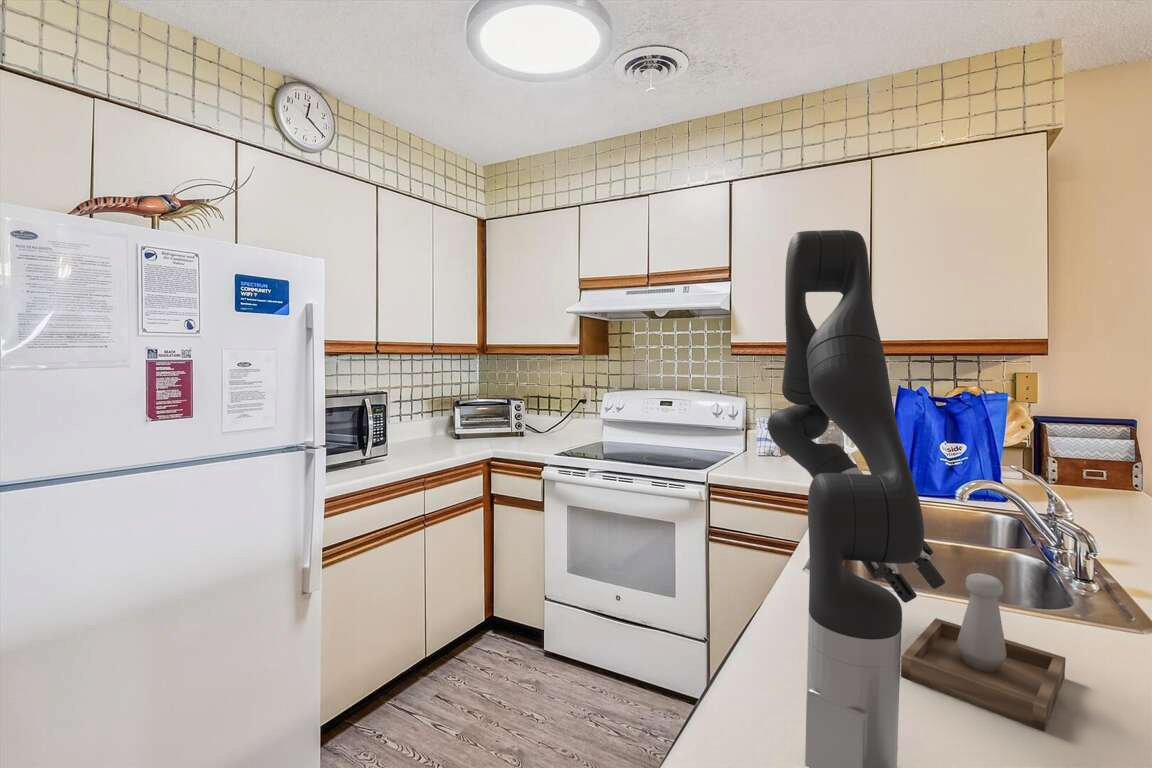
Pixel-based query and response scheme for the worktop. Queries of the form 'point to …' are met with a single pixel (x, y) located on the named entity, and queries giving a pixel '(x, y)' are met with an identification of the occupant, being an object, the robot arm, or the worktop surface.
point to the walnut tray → (987, 675)
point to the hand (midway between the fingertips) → (926, 593)
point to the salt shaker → (982, 625)
